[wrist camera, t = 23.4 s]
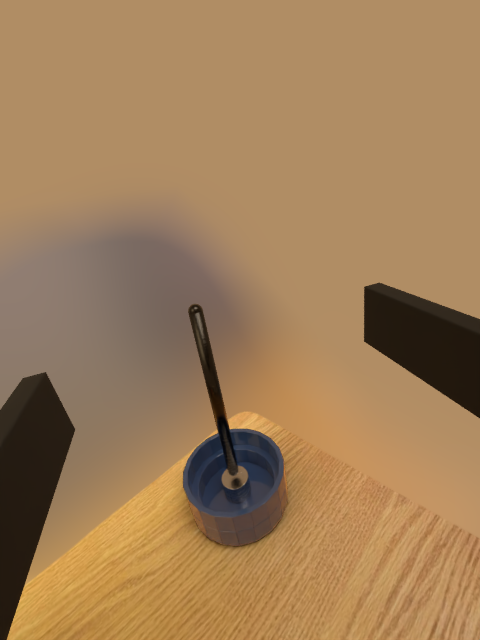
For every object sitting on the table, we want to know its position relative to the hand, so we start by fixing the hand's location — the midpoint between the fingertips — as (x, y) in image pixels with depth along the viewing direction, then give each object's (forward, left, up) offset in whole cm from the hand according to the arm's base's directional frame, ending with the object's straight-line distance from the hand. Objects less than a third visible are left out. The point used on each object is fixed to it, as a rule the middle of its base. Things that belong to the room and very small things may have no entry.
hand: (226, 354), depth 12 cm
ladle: (+11, -7, -25) cm, 29 cm away
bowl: (+11, -6, -26) cm, 29 cm away
